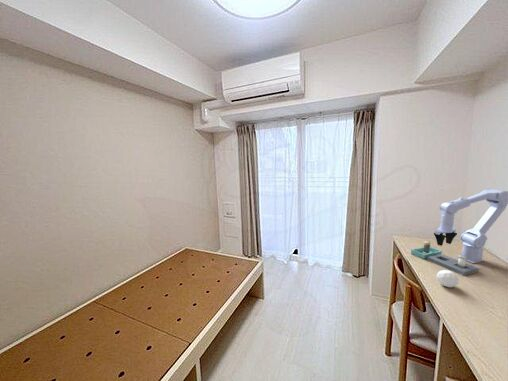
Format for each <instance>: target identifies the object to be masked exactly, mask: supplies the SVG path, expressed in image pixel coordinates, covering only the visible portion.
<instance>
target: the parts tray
mask: <svg viewBox="0 0 508 381" xmlns="http://www.w3.org/2000/svg"><path fill="white" fill-rule="evenodd" d="M423 249H424V246H422V247H417V248H413V249H411V252H410V254H411V255H413V256H416V257H418V258H420V259H422V260H427V257H429V256H434V255H438V254H443V253H442V252H443V251H442V250H440V249H436V248H434V247H432V246H430V251H429V253H428V254H423Z"/></svg>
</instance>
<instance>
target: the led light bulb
mask: <svg viewBox="0 0 508 381" xmlns="http://www.w3.org/2000/svg"><path fill="white" fill-rule="evenodd" d="M423 247H424V249H423V254H428V253H429V251H430V247H431V241H427V240H424V241H423Z"/></svg>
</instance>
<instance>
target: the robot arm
mask: <svg viewBox="0 0 508 381" xmlns="http://www.w3.org/2000/svg"><path fill="white" fill-rule="evenodd" d="M481 201H486V202H487V204H489V206H490V207H489V208H488V209H487V210H486V211H485V213H484V214H483V215H482V216H481V218H479V220H478V222H477V223H476V224H475V225H474V227H473V228H470V229H467V230H466V231H465V232H463V233H462V234H461V235H460V241H461V242H462V251H461V255H465V256H467V257H466V262H469V263H472V264H477V263H481V262H484V259H483V253H484V249H483V247H484V246H486V243H487V240H488V236H487V235H486V233H487V232H488V231H489V230H490V228H491V227H492V226H493V225H494V223H495V222H496V221H497V220H498V219H499V217H500V216H501V215H502V213H503V212H504V211H505V210H506V208H507V206H508V191H507V190H500V189H493V188H487V189H484V190H482V191H481V192H478V193H476V194H474V195H471V196H469V197H462V196H461V197H458V199H455V200H449V202H446V201H445V202H443V203H441V204H440V206H439V210H440V212H441V216H440V223H439V227H437V230H435V232H433V236H434V237H435V240H436V244H437V246H441V247H442V246H443V244H444V241H445V243H446V244H449V245H452V243H453V240H454V239H455V237H456V236H457V235H458V233H457V228H455V227H454V222H455V216H456V215H455V214H457V213H458V212H459V211H460V210H462V209H463V210H464V209H467V208H468V207H470V206H471V205H472V204H474V203H475V204H476V203H478V202H481ZM457 258H459V256H457Z"/></svg>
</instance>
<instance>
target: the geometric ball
mask: <svg viewBox="0 0 508 381" xmlns="http://www.w3.org/2000/svg"><path fill="white" fill-rule="evenodd" d="M436 279H437V281H438V283H439V284H441V285H442V286H443V287H446V288H454V287H455V288H456V286H457V285H458V284H459V277H458V276H457V274H455V273H454V271H452V270H449V269H443V270H439V271H438V272H437V273H436Z"/></svg>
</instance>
